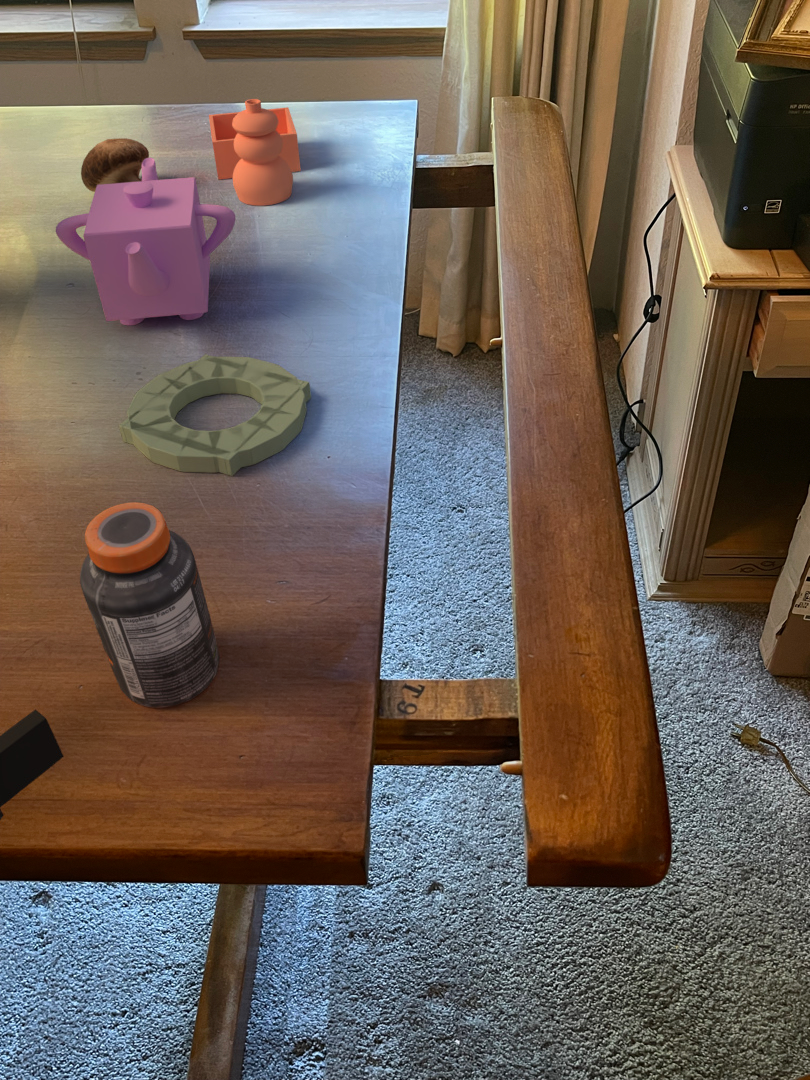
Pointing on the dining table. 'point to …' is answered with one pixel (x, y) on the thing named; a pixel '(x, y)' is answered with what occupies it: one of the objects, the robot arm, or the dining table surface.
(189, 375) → the hole board
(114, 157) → the mushroom
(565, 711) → the dining table surface
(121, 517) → the pill bottle
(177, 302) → the teapot
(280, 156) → the pottery
